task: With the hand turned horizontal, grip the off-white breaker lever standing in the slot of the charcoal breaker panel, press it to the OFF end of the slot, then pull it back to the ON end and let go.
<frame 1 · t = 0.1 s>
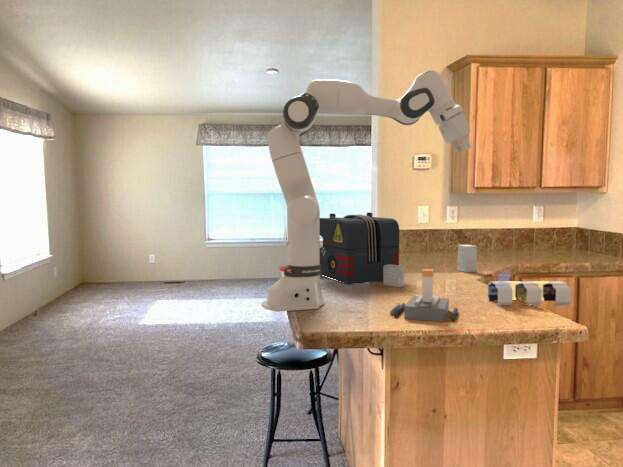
hand: (464, 150, 170), 54 cm above the worktop, tool tilted 30°, fingers open, 8 cm apart
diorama: (527, 304, 174), on the worktop
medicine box: (393, 286, 208), on the worktop
lever: (427, 285, 158), point 9 cm above the worktop, slide at 0.0 cm
breaker panel: (427, 314, 159), on the worktop
small box: (466, 271, 246), on the worktop
cords: (427, 314, 159), on the worktop
power unit: (357, 277, 229), on the worktop
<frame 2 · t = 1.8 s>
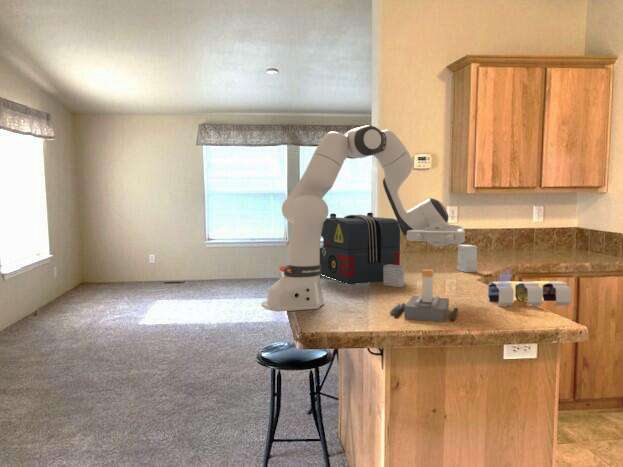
hand: (433, 237, 168), 24 cm above the worktop, tool horizontal, fingers open, 8 cm apart
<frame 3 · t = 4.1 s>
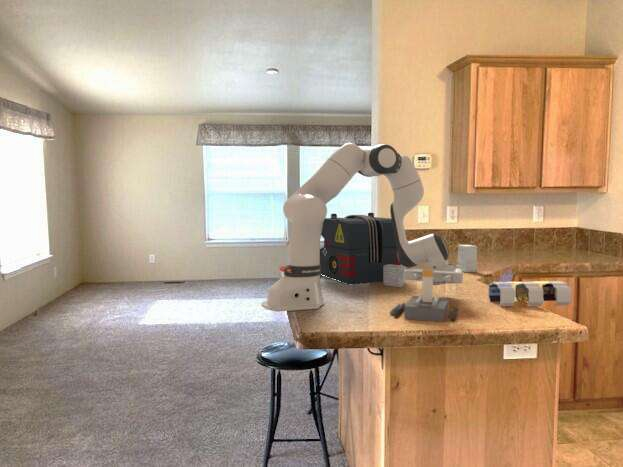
hand: (430, 278, 165), 10 cm above the worktop, tool horizontal, fingers open, 8 cm apart
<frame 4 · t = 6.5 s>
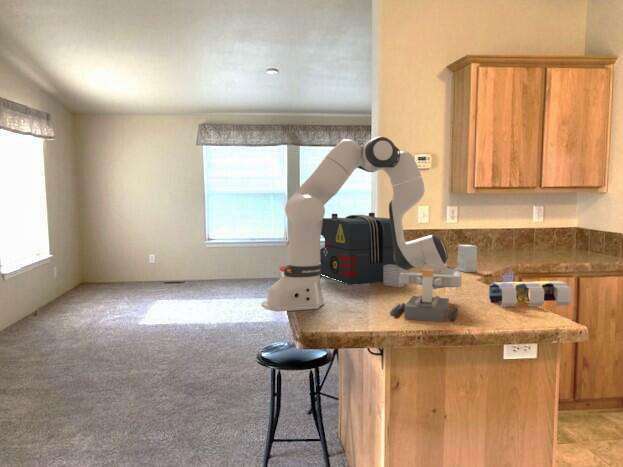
hand: (427, 282, 157), 11 cm above the worktop, tool horizontal, fingers closed on lever, 3 cm apart
lever: (427, 285, 158), point 9 cm above the worktop, slide at 0.0 cm, touching gripper
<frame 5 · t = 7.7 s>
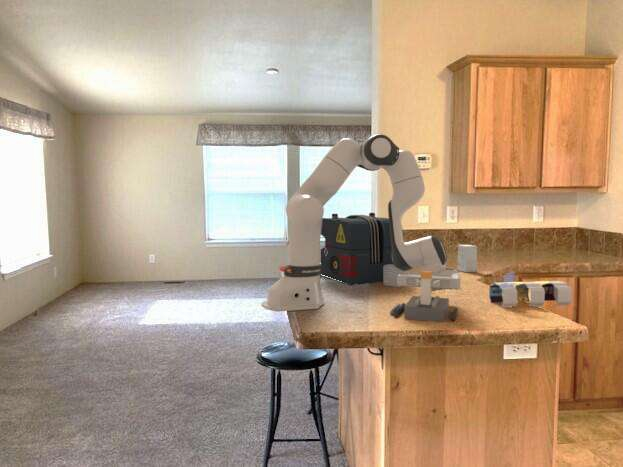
hand: (425, 284, 154), 11 cm above the worktop, tool horizontal, fingers closed on lever, 3 cm apart
lever: (426, 287, 155), point 9 cm above the worktop, slide at -3.8 cm, touching gripper
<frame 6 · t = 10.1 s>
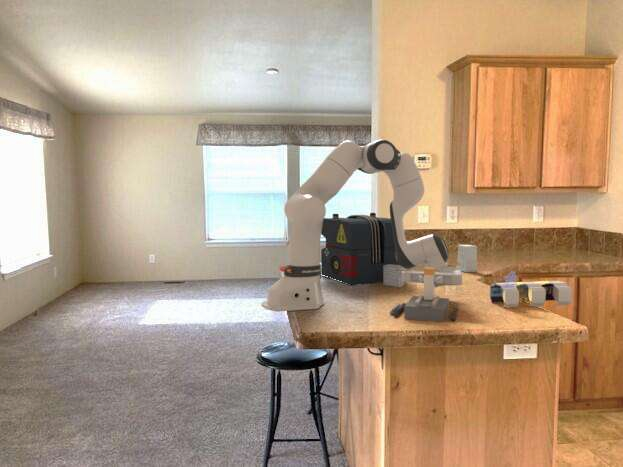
hand: (429, 280, 161), 11 cm above the worktop, tool horizontal, fingers closed on lever, 3 cm apart
lever: (429, 283, 162), point 9 cm above the worktop, slide at 3.8 cm, touching gripper
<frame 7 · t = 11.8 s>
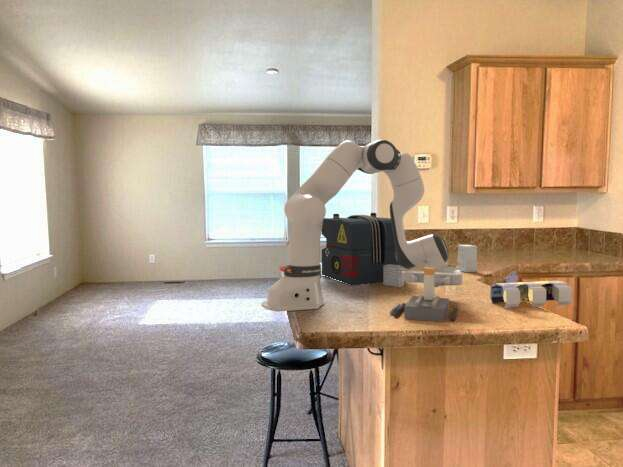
hand: (429, 280, 161), 11 cm above the worktop, tool horizontal, fingers open, 8 cm apart
lever: (429, 283, 162), point 9 cm above the worktop, slide at 3.8 cm
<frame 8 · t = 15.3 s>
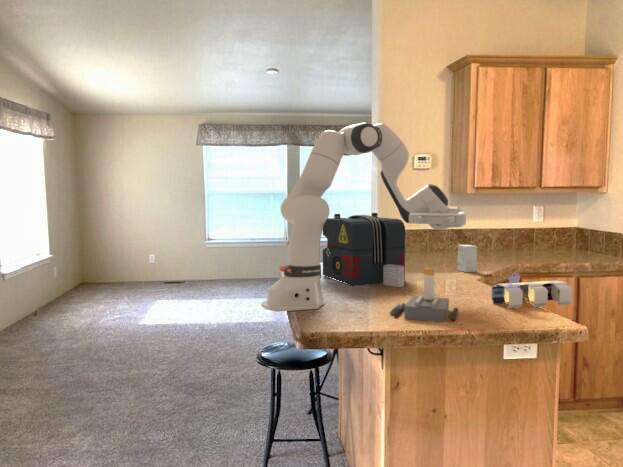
hand: (434, 219, 171), 30 cm above the worktop, tool horizontal, fingers open, 8 cm apart
at the end: lever slide at 3.8 cm; the gripper is holding nothing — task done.
